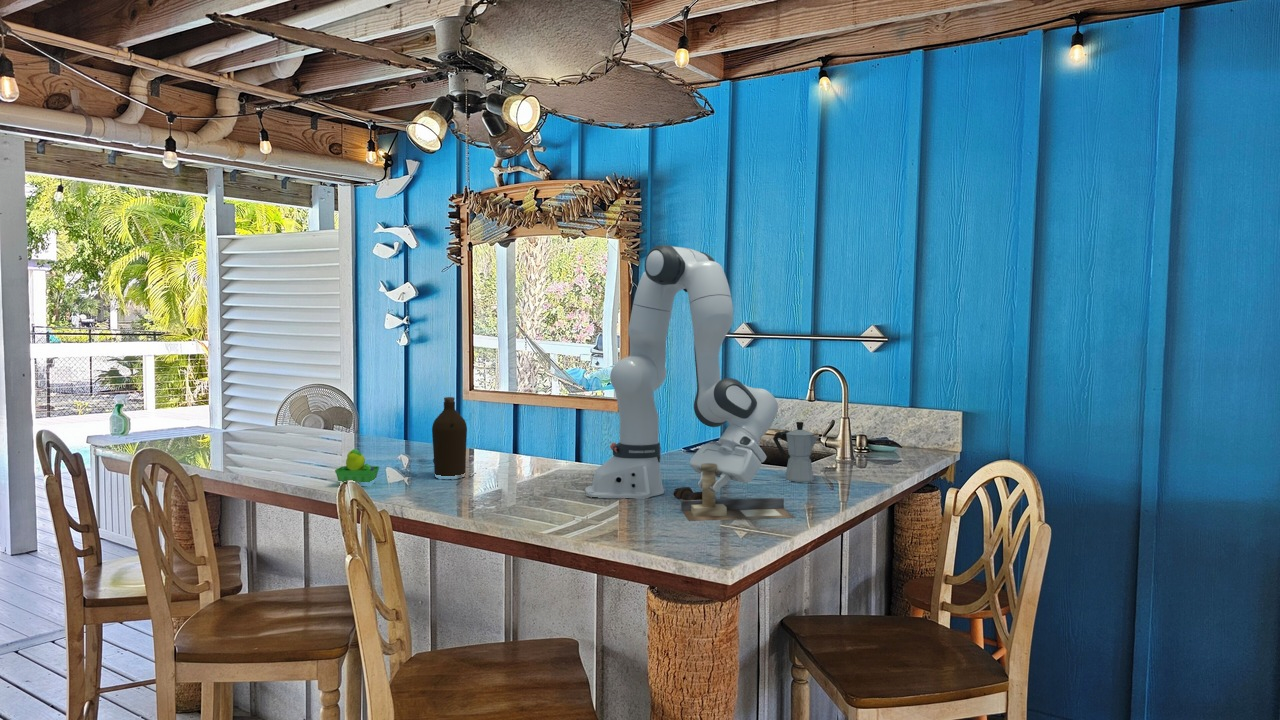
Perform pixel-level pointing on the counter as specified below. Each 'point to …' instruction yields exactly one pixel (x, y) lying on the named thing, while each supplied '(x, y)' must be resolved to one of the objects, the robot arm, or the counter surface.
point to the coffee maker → (798, 453)
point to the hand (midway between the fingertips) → (706, 488)
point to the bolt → (687, 494)
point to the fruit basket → (356, 469)
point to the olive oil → (449, 441)
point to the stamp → (708, 495)
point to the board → (741, 509)
